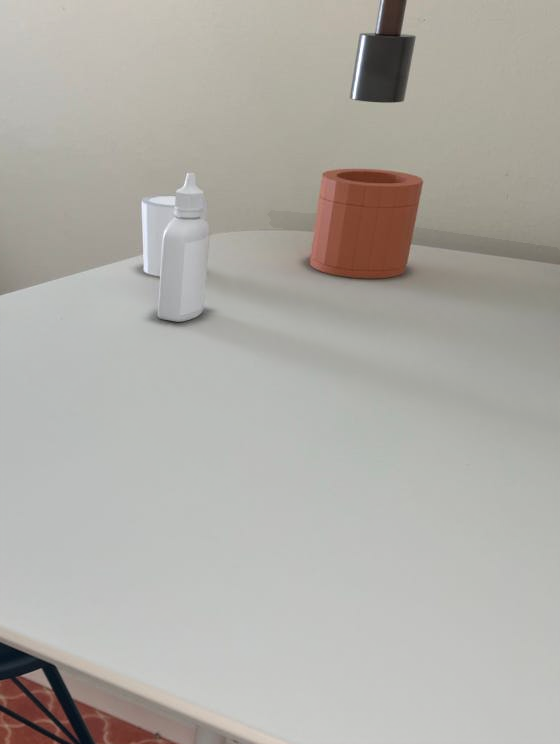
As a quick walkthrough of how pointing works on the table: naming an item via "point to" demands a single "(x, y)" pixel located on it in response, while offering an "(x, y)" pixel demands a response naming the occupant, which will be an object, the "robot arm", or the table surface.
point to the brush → (383, 57)
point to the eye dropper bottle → (184, 257)
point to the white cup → (157, 228)
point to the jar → (365, 222)
